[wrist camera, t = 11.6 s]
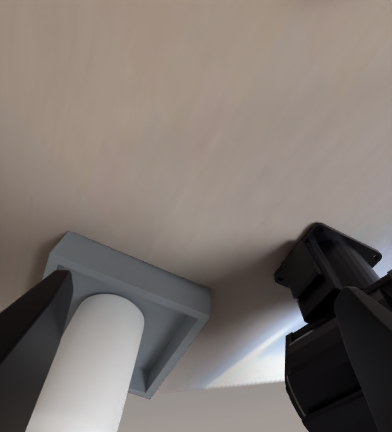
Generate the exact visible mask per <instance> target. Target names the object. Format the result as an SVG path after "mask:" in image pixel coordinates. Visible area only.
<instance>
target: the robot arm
mask: <svg viewBox="0 0 392 432" xmlns="http://www.w3.org/2000/svg"><path fill="white" fill-rule="evenodd" d="M319 228H322V229H321V230H320V231H317V229H319ZM374 255H376V256H375V257H373V256H374ZM381 258H382V255H381V253H380V252H379V251H378V250H376V249H374V248H372V247H370V246H368V245H366V244H364V243H361V242H359V241H357V240H355V239H353V238H351V237H349V236H347V235H345V234H343V233H341V232H339V231H337V230H335V229H333V228H331V227H329V226H327V225H325V224H323V223H316V224H315V225H313V227H312V228H311V229H310V230H309V232H308V233H307V234H306V235H305V237H304V238H303V239H302V240H301V241H300V242H298V243H297V245H296V246H295V247H294V248H293V250H292V251H291V252H290V253H289V255H288V256H287V257H286V258H285V260H284V261H283V262H282V265H281V266H280V268H279V269H278V270H277V271H276V273H275V274H274V280H275V282H277V283H279V284H281V285H283V286H286V287H288V288H290V289H291V292H292V295H293V298H294V299H296V300H297V302H298V305H299V308H300V311H301V313H302V316H303V319H304V321H305V322H306V323H309V324H307V325H305V326H304V327H302V328H301V329H299V330H297V331H296V332H294V333H293V332H291V333H290V334H288V335H286V345H285V384H286V391H287V393H288V395H289V397H290V400H291V402H292V404H293V406H294V408H295V410H296V411H297V413H298V415H299V417H300V418H301V419H302V423H303V424H304V426H305V427H306V429H307V430H308V431H309V432H392V270H390V271H388V272H387V273H388V274H387V275H385V276H384V277H382V278H381V279H380V278H379V277H378V275H377V274H376V273H375V271H374V270H373V269H372V268H373V267H374V266H375V265H376V264H377V263H378V262H379V261H380V260H381ZM278 277H281V278H278ZM72 297H73V281H72V274H71V271H70V270H64V269H57V270H55V271H53V272H52V273H51V274H49V275H48V276H47V277H46V278H44V279H43V280H42V281H40V282H39V283H38V284H37V285H35V286H34V287H33V288H32V289H30V290H29V291H28V292H26V293H25V294H24V295H23V296H21V297H20V298H19V299H17V300H16V301H15V302H14V303H12V304H11V305H10V306H9V307H7V308H6V309H5V310H3V311H2V312H1V313H0V432H25V431H26V428H27V426H28V423H29V421H30V418H31V416H32V413H33V411H34V408H35V406H36V403H37V401H38V398H39V395H40V393H41V390H42V388H43V385H44V383H45V380H46V378H47V375H48V373H49V370H50V368H51V365H52V363H53V360H54V357H55V355H56V352H57V350H58V347H59V344H60V341H61V338H62V334H63V331H64V327H65V323H66V319H67V316H68V312H69V308H70V304H71V301H72Z"/></svg>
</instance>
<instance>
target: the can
mask: <svg viewBox="0 0 392 432" xmlns="http://www.w3.org/2000/svg"><path fill="white" fill-rule="evenodd" d="M143 329H144V317H143V315H142V313H141V311H140V310H139V309H138V307H137V306H136V305H135V304H134V303H133V302H132V301H130V300H129V299H127V298H125V297H123V296H120V295H117V294H111V293H102V294H97V295H93V296H90V297H88V298H86V299H85V300H84V301H83V302H82V303H81V304H80V305H79V307H78V309H77V310H76V312H75V314H74V316H73V317H72V319H71V321H70V323H69V325H68V326H67V328H66V330H65V332H64V334H63V336H62V338H61V341H60V344H59V347H58V350H57V352H56V355H55V357H54V360H53V363H52V365H51V368H50V370H49V373H48V375H47V378H46V380H45V383H44V385H43V388H42V390H41V393H40V395H39V398H38V401H37V403H36V406H35V408H34V411H33V413H32V416H31V418H30V421H29V423H28V426H27V428H26V431H25V432H117V431H118V427H119V424H120V420H121V416H122V412H123V408H124V404H125V400H126V397H127V393H128V389H129V385H130V381H131V377H132V373H133V369H134V365H135V361H136V357H137V353H138V349H139V345H140V341H141V337H142V333H143Z"/></svg>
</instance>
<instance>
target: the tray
mask: <svg viewBox="0 0 392 432" xmlns="http://www.w3.org/2000/svg"><path fill="white" fill-rule="evenodd" d="M57 269H64V270H70V271H71V274H72V281H73V297H72V301H71V304H70V308H69V312H68V316H67V319H66V323H65V327H64V331H63V334H64V332H65V330H66V328H67V326H68V325H69V323H70V321H71V319H72V317H73V316H74V314H75V312H76V310H77V309H78V307H79V305H80V304H81V303H82V302H83V301H84V300H85V299H86V298H88V297H90V296H93V295H97V294H102V293H111V294H117V295H120V296H123V297H125V298H127V299H129V300H130V301H132V302H133V303H134V304H135V305H136V306H137V307H138V309H139V310H140V311H141V313H142V315H143V317H144V329H143V333H142V337H141V341H140V345H139V349H138V353H137V357H136V361H135V365H134V369H133V373H132V377H131V381H130V385H129V389H128V392H129V393H132V394H135V395H138V396H141V397H144V398H147V399H151V397H152V396H153V395H154V393H155V392H156V390H157V389H158V388H159V386H160V385H161V384H162V382H163V381H164V380H165V378H166V377H167V376H168V374H169V373H170V371H171V370H172V369H173V367H174V366H175V365H176V363H177V362H178V361H179V359H180V358H181V357H182V355H183V354H184V352H185V351H186V350H187V348H188V347H189V346H190V344H191V343H192V342H193V340H194V339H195V338H196V336H197V335H198V333H199V332H200V331H201V329H202V328H203V327H204V325H205V324H206V323H207V321H208V320H209V319H210V317H211V289H208V288H206V287H203V286H201V285H198V284H196V283H194V282H191V281H189V280H186V279H184V278H182V277H179V276H177V275H174V274H172V273H169V272H167V271H165V270H162V269H160V268H157V267H155V266H153V265H150V264H148V263H145V262H143V261H141V260H138V259H136V258H133V257H131V256H128V255H126V254H124V253H121V252H119V251H116V250H114V249H112V248H109V247H107V246H104V245H102V244H99V243H97V242H95V241H92V240H90V239H87V238H85V237H83V236H80V235H78V234H75V233H73V232H70V231H68V232H67V233H66V234H65V236H64V237H63V238H62V239H61V240H60V242H59V243H58V244H57V245H56V246H55V247H54V249H53V250H52V251H51V252H50V255H49V258H48V261H47V265H46V268H45V271H44V274H43V278H42V280H43V279H44V278H46V277H47V276H48V275H49V274H51V273H52V272H53V271H55V270H57ZM63 334H62V336H63Z"/></svg>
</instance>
